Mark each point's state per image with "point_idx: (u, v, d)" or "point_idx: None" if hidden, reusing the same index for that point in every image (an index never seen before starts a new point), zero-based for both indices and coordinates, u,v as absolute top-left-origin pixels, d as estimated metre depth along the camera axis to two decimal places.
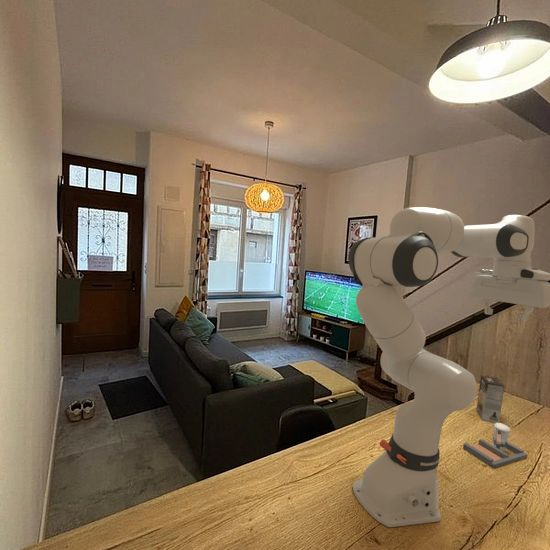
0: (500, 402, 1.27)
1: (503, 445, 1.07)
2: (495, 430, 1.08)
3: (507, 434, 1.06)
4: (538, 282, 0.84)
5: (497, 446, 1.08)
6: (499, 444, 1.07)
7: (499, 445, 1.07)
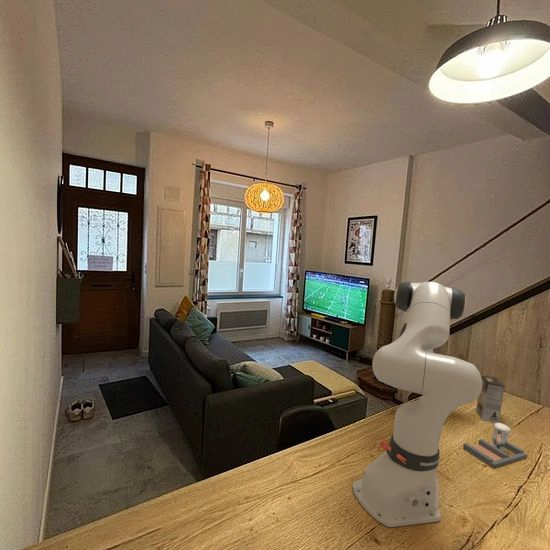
0: (500, 402, 1.27)
1: (503, 445, 1.07)
2: (495, 430, 1.08)
3: (507, 434, 1.06)
4: None
5: (497, 446, 1.08)
6: (499, 444, 1.07)
7: (499, 445, 1.07)
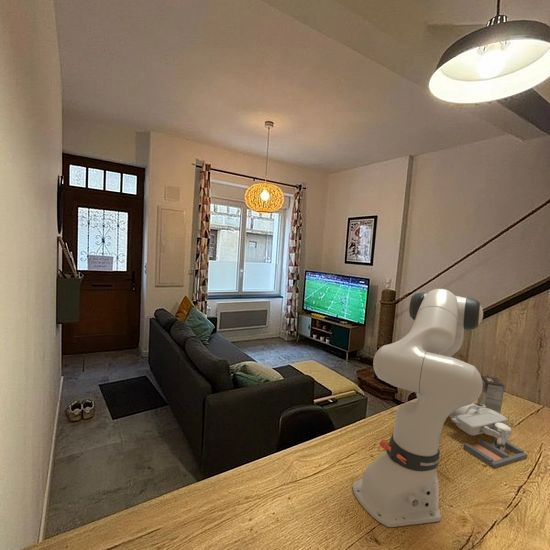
0: (500, 402, 1.27)
1: (503, 445, 1.07)
2: None
3: (508, 434, 1.06)
4: (488, 408, 1.21)
5: (497, 446, 1.08)
6: (499, 443, 1.07)
7: (499, 445, 1.07)
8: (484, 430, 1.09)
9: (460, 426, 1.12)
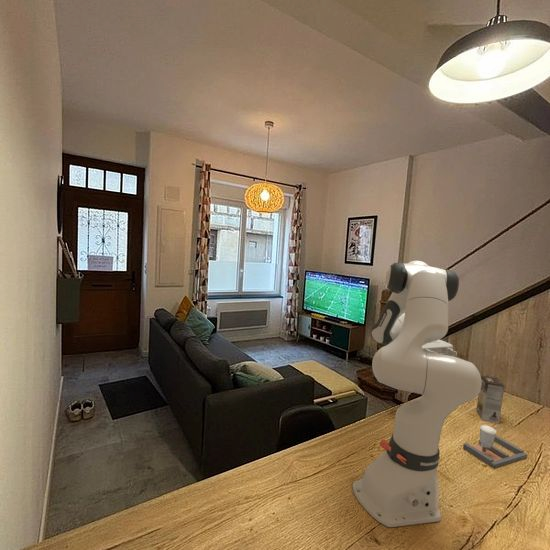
0: (500, 402, 1.27)
1: (489, 448, 1.04)
2: (481, 433, 1.05)
3: (493, 437, 1.03)
4: None
5: (483, 449, 1.05)
6: (485, 447, 1.04)
7: (485, 448, 1.04)
8: None
9: None
